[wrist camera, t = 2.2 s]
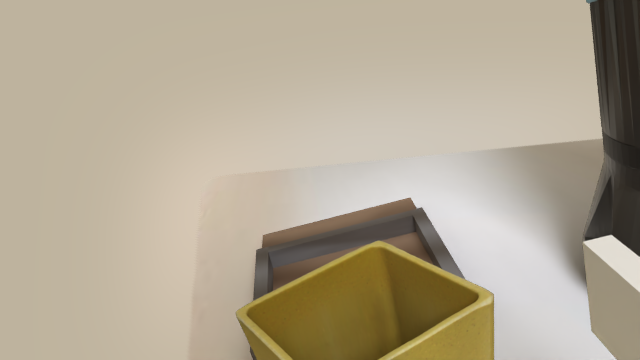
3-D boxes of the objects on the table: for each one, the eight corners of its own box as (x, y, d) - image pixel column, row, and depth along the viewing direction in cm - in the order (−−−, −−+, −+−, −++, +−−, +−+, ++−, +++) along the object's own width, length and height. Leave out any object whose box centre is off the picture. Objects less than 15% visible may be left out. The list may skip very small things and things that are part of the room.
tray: (265, 244, 57) (258, 220, 56) (412, 207, 57) (407, 182, 56) (261, 383, 38) (250, 351, 37) (480, 328, 38) (474, 294, 37)
